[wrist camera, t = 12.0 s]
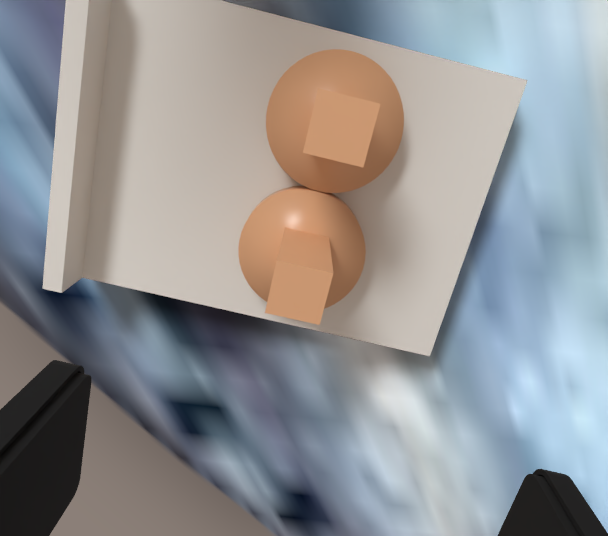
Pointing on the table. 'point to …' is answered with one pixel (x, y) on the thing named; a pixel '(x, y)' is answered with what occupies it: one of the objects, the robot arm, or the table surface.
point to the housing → (265, 156)
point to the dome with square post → (301, 252)
